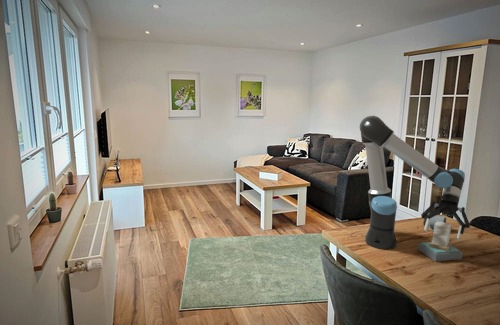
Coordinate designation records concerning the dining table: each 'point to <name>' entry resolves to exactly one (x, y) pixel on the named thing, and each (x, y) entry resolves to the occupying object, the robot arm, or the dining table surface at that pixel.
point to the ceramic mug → (434, 220)
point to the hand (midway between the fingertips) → (440, 235)
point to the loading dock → (439, 252)
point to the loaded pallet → (441, 236)
